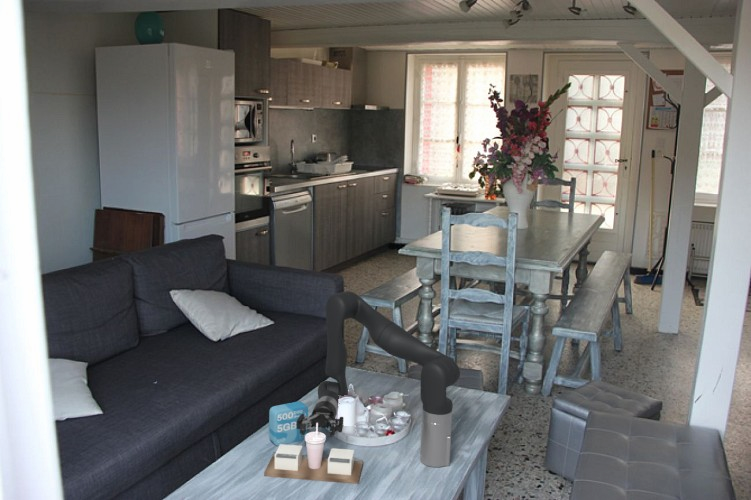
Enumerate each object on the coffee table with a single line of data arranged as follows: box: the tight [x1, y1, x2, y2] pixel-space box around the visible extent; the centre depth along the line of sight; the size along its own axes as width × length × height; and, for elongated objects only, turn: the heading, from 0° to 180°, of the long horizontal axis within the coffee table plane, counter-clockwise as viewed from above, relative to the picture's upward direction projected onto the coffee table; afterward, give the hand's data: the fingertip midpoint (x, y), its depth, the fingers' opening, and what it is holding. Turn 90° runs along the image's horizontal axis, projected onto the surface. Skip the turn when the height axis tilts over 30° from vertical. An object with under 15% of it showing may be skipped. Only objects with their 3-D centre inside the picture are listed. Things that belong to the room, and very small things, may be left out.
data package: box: [268, 400, 309, 447], centre depth 227 cm, size 12×4×12 cm, turn 122°
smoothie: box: [304, 423, 327, 469], centre depth 208 cm, size 6×6×14 cm
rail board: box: [263, 444, 364, 485], centre depth 209 cm, size 28×12×6 cm, turn 85°
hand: (316, 433), depth 209 cm, fingers open, 8 cm apart
